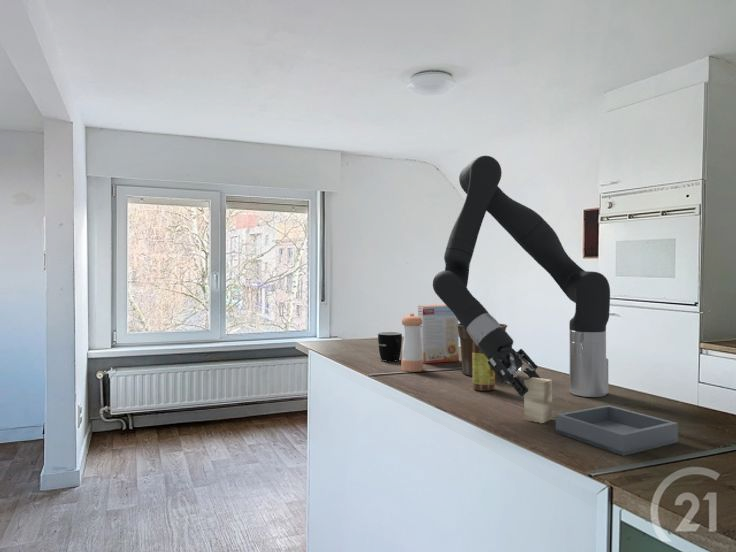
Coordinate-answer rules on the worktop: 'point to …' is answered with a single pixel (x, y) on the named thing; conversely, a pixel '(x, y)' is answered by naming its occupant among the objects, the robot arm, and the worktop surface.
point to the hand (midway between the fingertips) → (533, 390)
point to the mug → (390, 345)
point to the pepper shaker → (412, 344)
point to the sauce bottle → (481, 371)
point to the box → (617, 429)
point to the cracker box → (438, 334)
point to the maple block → (538, 400)
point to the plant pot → (468, 349)
